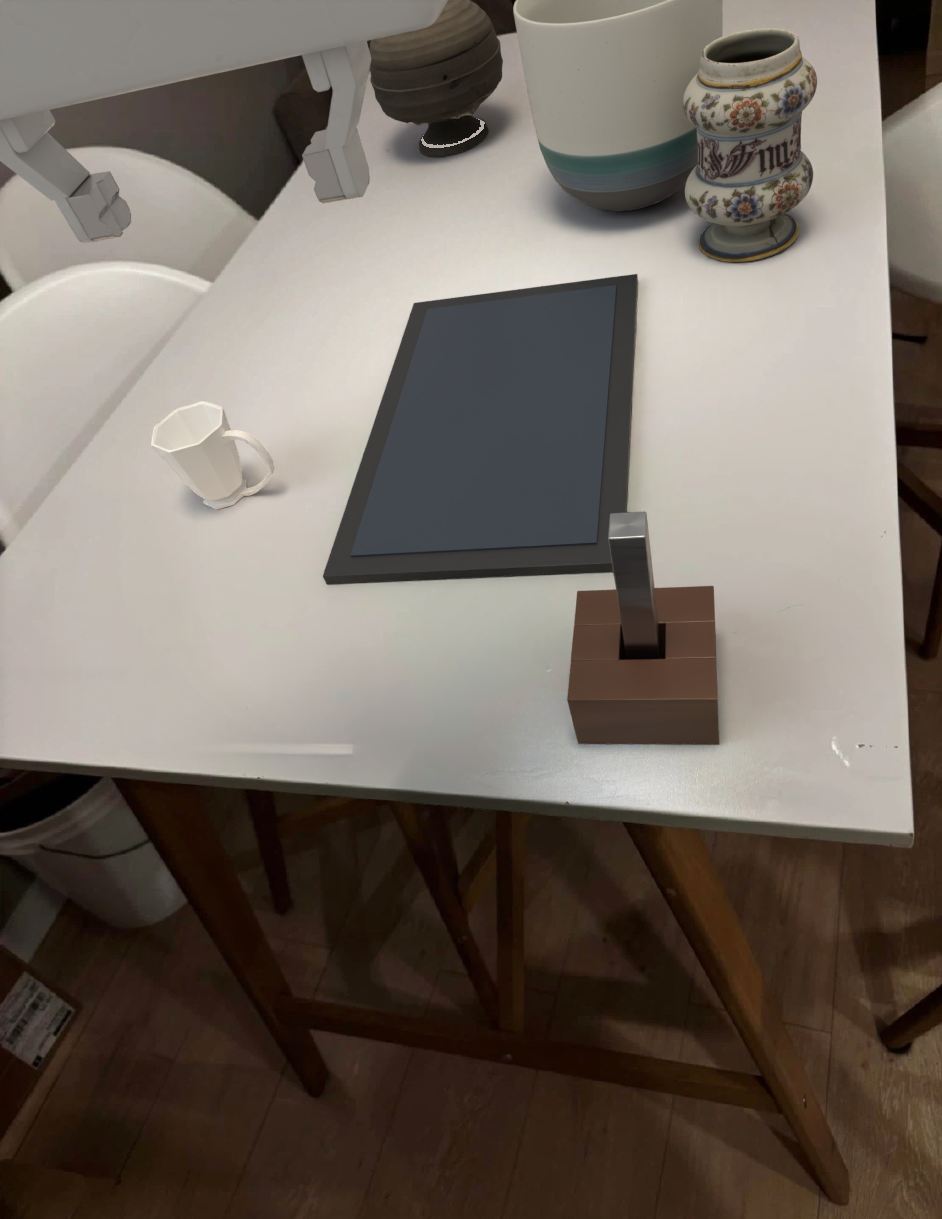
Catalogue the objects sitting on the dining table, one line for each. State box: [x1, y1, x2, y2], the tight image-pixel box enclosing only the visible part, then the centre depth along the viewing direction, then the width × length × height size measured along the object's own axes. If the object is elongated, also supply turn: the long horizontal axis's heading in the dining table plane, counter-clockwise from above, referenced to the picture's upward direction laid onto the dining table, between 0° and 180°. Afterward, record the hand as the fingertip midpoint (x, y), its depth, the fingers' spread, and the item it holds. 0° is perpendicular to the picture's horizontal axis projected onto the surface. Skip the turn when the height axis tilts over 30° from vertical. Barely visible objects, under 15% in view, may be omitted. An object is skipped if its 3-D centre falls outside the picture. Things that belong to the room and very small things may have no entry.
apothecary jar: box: [683, 27, 818, 263], centre depth 85 cm, size 12×12×18 cm
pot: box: [368, 0, 504, 158], centre depth 119 cm, size 18×18×20 cm
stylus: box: [608, 510, 662, 660], centre depth 54 cm, size 2×2×15 cm
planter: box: [512, 0, 724, 212], centre depth 95 cm, size 20×20×21 cm
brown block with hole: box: [566, 585, 720, 746], centre depth 57 cm, size 9×9×5 cm
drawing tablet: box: [322, 273, 639, 585], centre depth 81 cm, size 40×24×1 cm, turn 172°
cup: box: [150, 400, 275, 511], centre depth 80 cm, size 7×10×8 cm
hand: (223, 214), depth 31 cm, fingers open, 8 cm apart
